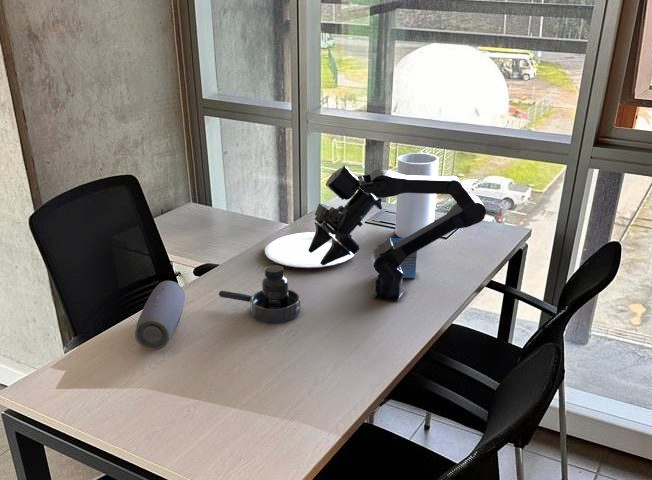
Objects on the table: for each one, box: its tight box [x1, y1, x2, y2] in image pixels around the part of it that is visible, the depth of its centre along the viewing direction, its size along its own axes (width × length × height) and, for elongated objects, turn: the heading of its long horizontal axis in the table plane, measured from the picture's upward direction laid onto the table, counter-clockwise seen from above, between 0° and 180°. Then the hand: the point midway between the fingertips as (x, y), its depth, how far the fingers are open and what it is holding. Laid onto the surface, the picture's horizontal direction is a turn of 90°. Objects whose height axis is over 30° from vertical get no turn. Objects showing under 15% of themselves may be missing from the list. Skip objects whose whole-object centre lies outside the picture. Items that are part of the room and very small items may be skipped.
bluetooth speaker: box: [134, 280, 186, 351], centre depth 182 cm, size 23×9×10 cm, turn 178°
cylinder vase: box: [394, 152, 440, 238], centre depth 232 cm, size 12×12×25 cm
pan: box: [249, 288, 301, 324], centre depth 191 cm, size 13×13×4 cm
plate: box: [264, 231, 355, 269], centre depth 226 cm, size 29×29×2 cm
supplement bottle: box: [261, 265, 289, 309], centre depth 189 cm, size 7×7×12 cm
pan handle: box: [218, 290, 254, 303], centre depth 195 cm, size 11×2×2 cm, turn 67°
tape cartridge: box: [386, 237, 418, 279], centre depth 207 cm, size 9×4×12 cm, turn 84°
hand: (315, 258), depth 189 cm, fingers open, 9 cm apart
